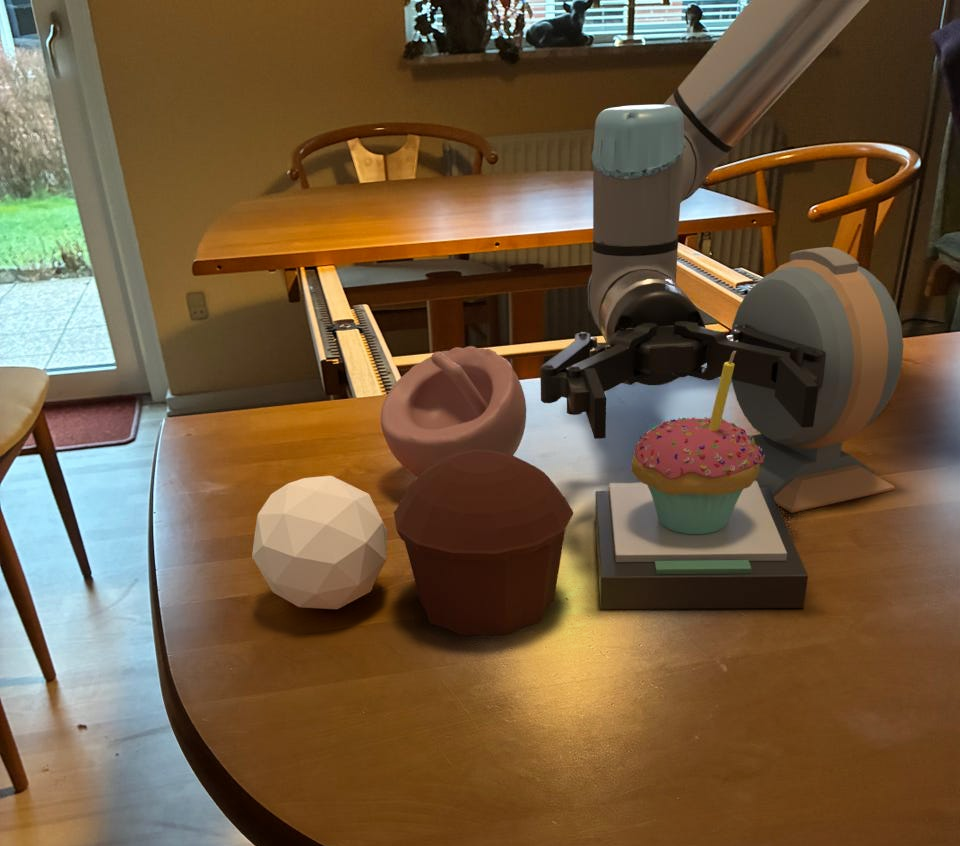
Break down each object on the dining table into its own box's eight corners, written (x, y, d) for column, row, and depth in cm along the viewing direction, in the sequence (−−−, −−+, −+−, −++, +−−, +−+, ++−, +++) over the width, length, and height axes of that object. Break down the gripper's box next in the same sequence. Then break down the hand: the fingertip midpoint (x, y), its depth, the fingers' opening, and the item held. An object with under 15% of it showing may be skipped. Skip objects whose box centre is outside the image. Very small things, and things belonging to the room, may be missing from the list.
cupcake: (773, 510, 69) (793, 337, 62) (725, 559, 63) (742, 374, 57) (661, 487, 73) (669, 324, 67) (607, 531, 67) (610, 356, 61)
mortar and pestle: (359, 492, 83) (342, 356, 77) (445, 447, 91) (436, 321, 85) (473, 522, 77) (464, 377, 71) (554, 470, 85) (553, 337, 79)
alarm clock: (903, 494, 77) (949, 257, 68) (799, 517, 74) (832, 274, 65) (792, 437, 89) (818, 228, 79) (698, 456, 86) (714, 242, 77)
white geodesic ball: (425, 590, 64) (380, 538, 74) (363, 467, 59) (325, 430, 70) (306, 655, 63) (278, 594, 73) (235, 535, 58) (216, 488, 69)
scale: (766, 516, 75) (770, 480, 73) (803, 608, 63) (809, 567, 61) (595, 519, 76) (595, 483, 74) (600, 609, 64) (601, 569, 63)
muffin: (373, 593, 68) (356, 456, 62) (506, 548, 72) (501, 417, 67) (463, 669, 59) (452, 517, 54) (608, 612, 64) (611, 468, 59)
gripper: (795, 365, 83) (889, 457, 65) (502, 381, 83) (514, 477, 65) (806, 272, 79) (909, 343, 61) (499, 290, 79) (510, 365, 61)
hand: (705, 413), depth 63 cm, fingers open, 13 cm apart
